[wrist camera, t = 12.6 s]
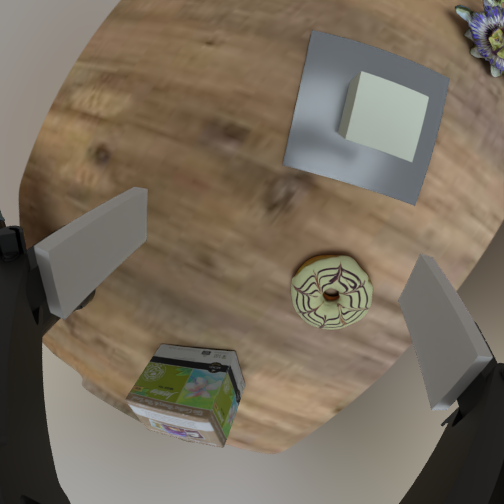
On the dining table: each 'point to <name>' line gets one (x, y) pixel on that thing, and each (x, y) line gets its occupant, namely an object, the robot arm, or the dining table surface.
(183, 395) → the tea box
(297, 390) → the dining table surface
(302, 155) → the slate plate
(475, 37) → the passion flower
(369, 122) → the sage block
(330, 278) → the decorated donut
